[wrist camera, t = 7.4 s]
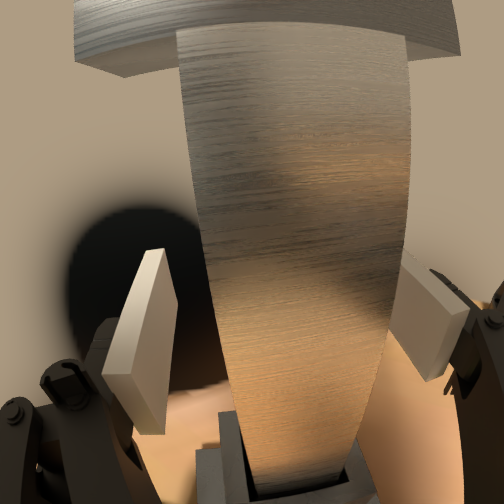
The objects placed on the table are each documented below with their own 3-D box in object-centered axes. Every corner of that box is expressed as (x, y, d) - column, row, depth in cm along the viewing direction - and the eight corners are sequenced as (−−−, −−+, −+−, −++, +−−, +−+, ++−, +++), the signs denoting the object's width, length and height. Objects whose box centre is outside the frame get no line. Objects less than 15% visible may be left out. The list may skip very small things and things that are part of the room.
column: (327, 479, 18) (376, 17, 6) (339, 515, 15) (458, -13, 3) (239, 494, 18) (124, 26, 6) (245, 533, 15) (68, -22, 2)
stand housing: (346, 431, 24) (375, 320, 18) (392, 554, 12) (488, 509, 5) (199, 456, 23) (150, 354, 17) (209, 589, 11) (130, 590, 4)
